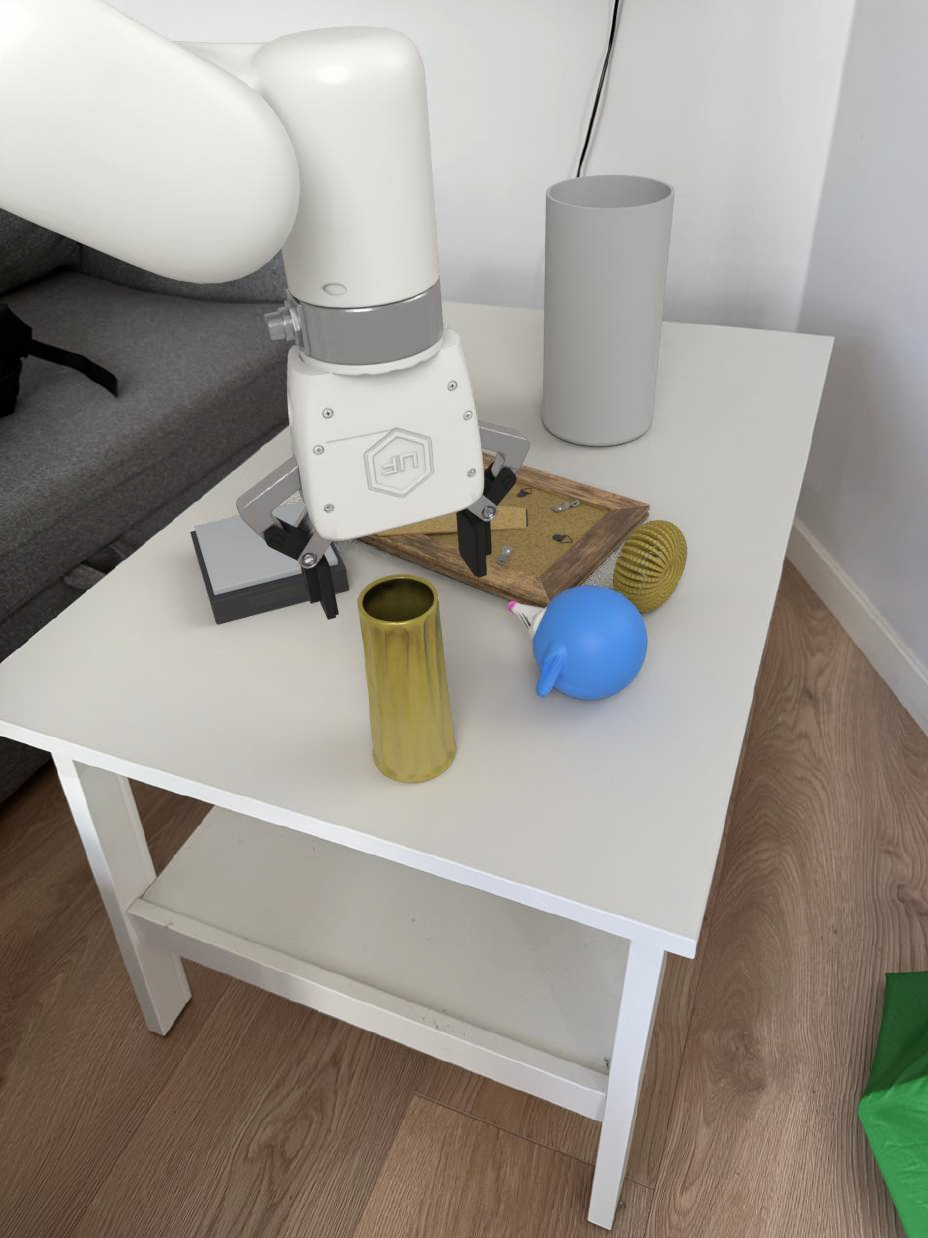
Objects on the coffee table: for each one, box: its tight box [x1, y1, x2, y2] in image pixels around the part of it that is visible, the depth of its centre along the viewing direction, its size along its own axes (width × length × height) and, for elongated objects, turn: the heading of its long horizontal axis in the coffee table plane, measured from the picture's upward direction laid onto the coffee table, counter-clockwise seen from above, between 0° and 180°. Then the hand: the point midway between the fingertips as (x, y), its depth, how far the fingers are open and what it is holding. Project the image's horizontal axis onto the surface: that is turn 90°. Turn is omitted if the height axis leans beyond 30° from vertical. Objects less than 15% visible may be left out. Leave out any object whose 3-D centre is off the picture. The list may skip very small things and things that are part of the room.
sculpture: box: [612, 519, 688, 614], centre depth 77 cm, size 8×4×8 cm, turn 140°
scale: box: [189, 500, 350, 625], centre depth 84 cm, size 12×12×3 cm
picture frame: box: [355, 452, 651, 608], centre depth 89 cm, size 19×2×24 cm
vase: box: [357, 573, 457, 783], centre depth 62 cm, size 6×6×14 cm
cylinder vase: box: [542, 174, 676, 447], centre depth 98 cm, size 12×12×25 cm
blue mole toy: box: [507, 584, 649, 701], centre depth 70 cm, size 12×12×8 cm
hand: (401, 585), depth 57 cm, fingers open, 9 cm apart
